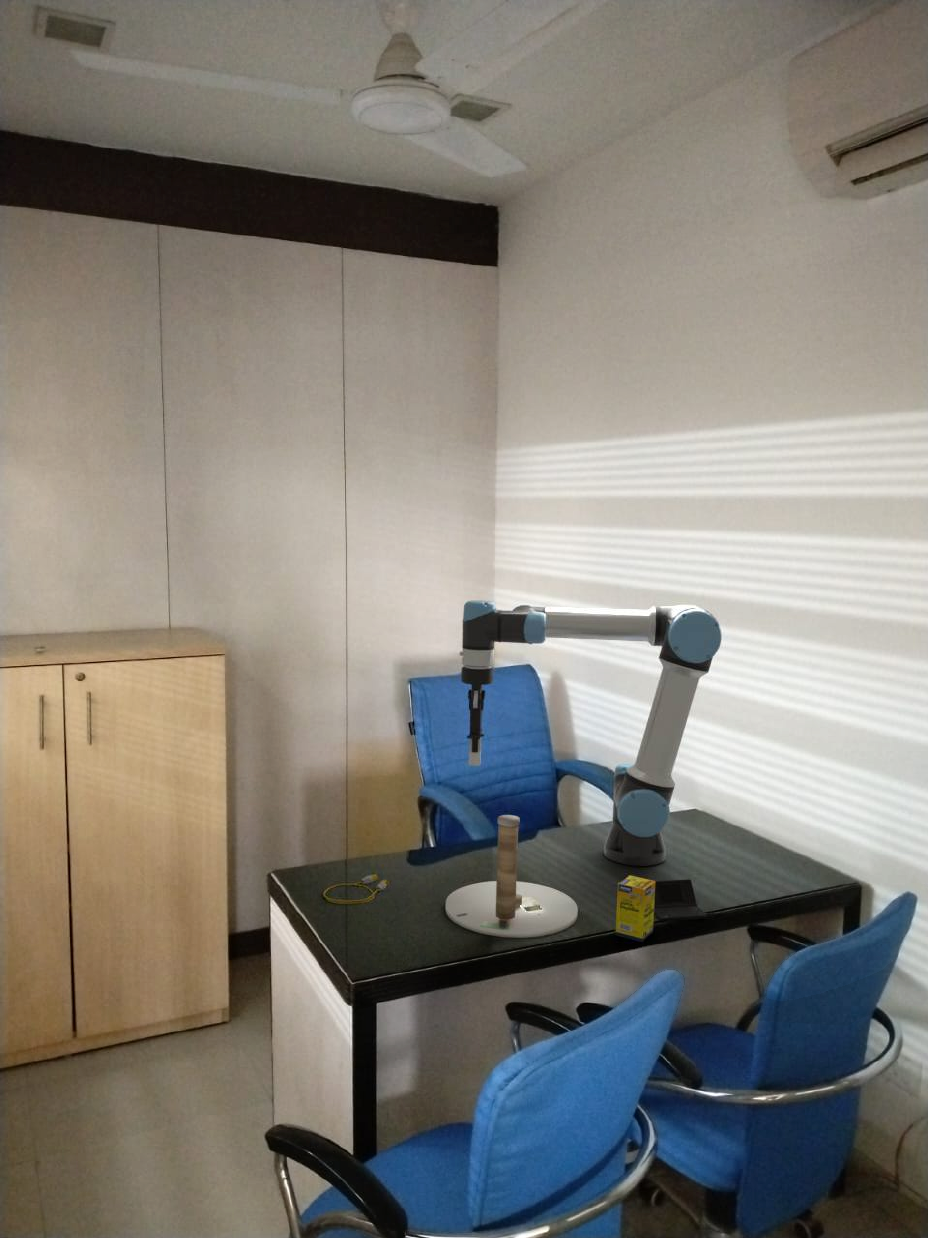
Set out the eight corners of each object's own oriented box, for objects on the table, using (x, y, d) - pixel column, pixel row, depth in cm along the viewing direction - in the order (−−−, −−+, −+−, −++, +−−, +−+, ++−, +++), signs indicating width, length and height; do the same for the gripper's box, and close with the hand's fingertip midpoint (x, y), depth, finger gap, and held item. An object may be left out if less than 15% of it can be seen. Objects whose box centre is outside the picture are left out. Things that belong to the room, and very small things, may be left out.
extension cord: (401, 898, 219) (401, 890, 218) (332, 910, 211) (333, 901, 211) (379, 880, 229) (379, 872, 229) (313, 890, 222) (313, 882, 222)
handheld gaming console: (666, 918, 207) (657, 871, 212) (648, 928, 212) (639, 882, 218) (712, 919, 211) (702, 873, 216) (693, 929, 217) (683, 884, 222)
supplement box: (642, 943, 198) (645, 889, 197) (614, 935, 201) (617, 883, 200) (653, 933, 203) (656, 880, 202) (626, 926, 206) (628, 874, 205)
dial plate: (574, 889, 226) (574, 883, 226) (580, 941, 198) (581, 934, 198) (450, 883, 227) (450, 877, 227) (439, 933, 200) (439, 927, 199)
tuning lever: (502, 898, 215) (505, 801, 213) (523, 900, 214) (526, 802, 212) (491, 927, 199) (495, 823, 197) (513, 930, 199) (517, 824, 196)
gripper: (463, 661, 242) (460, 757, 244) (459, 669, 229) (456, 771, 231) (494, 663, 241) (491, 759, 244) (492, 671, 229) (489, 772, 231)
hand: (474, 764), depth 238 cm, fingers closed
